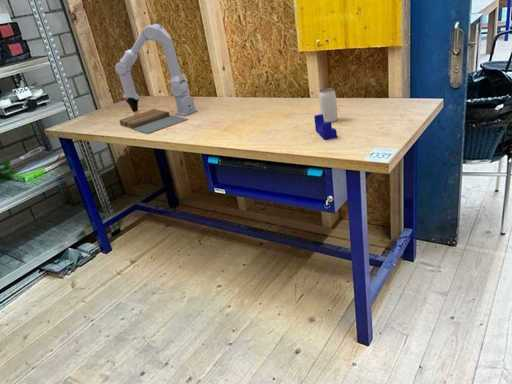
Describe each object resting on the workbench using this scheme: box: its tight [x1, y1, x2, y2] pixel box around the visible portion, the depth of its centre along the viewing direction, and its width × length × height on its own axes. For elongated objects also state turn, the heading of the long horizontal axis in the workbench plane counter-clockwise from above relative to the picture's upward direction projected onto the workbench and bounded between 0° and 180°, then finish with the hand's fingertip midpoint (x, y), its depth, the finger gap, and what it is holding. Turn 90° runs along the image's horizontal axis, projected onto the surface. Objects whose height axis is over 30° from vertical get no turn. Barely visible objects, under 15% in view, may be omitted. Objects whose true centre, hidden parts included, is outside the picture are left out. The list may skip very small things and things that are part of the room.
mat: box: [132, 115, 189, 135], centre depth 203 cm, size 16×22×1 cm
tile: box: [133, 108, 152, 117], centre depth 215 cm, size 7×6×2 cm
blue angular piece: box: [313, 114, 338, 141], centre depth 152 cm, size 12×4×6 cm, turn 7°
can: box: [318, 87, 338, 123], centre depth 164 cm, size 6×6×12 cm
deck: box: [119, 108, 171, 130], centre depth 214 cm, size 16×20×2 cm
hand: (135, 111), depth 221 cm, fingers closed
